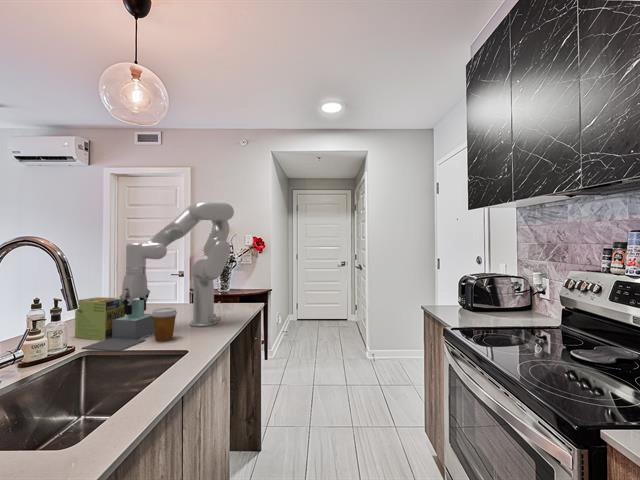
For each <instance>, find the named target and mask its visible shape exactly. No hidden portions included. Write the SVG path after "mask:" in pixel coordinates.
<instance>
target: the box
mask: <svg viewBox="0 0 640 480" xmlns="http://www.w3.org/2000/svg"><path fill="white" fill-rule="evenodd" d="M126 316H127V315H125V316H124V317H126ZM120 318H122V317H120ZM117 319H119V318H117ZM153 334H155V330H154V322H153V316H149V317H146V318H143V319H140V320H137V321H129V320H115V319H113V320H112V338H123V339H143V338H145V337H147V336H149V335H153Z"/></svg>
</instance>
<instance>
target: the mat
mask: <svg viewBox="0 0 640 480" xmlns="http://www.w3.org/2000/svg"><path fill="white" fill-rule="evenodd" d="M146 341H147V339H143V338H140V339H123V338H109V339H106V340H101V341H97V342H95V343H91V344H89V345H85V346H84V347H83V346H82V347H81V350H92V351H94V350H95V351H104V352H118V353H119V352H122V351H124V350H127V349H130V348H132V347H134V346H137V345H139V344H142V343H143V342H146Z"/></svg>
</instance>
